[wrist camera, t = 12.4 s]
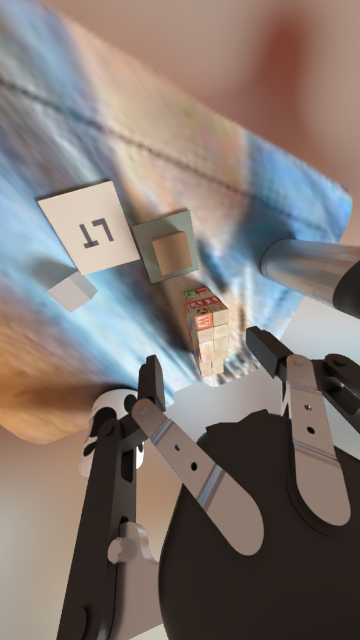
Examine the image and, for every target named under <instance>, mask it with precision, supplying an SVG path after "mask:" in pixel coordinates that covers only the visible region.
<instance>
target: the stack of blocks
mask: <svg viewBox="0 0 360 640" xmlns="http://www.w3.org/2000/svg"><path fill="white" fill-rule="evenodd" d="M183 296H184V305H185V311H186V317H187V323H188V327H189V332H190V338H191V346H192V351H193V355H194V358H195V361H196V364H197V367H198V369H199V371H200V374H201V377H202V378H204V377H207V376H211V375H214V374H218V373H221V372H223V358H225V357H228V322H229V309H228V308H227V307H226V306H225V305H224V304H223V303H222V301H221V300H220V299H219V298H218V297H217V296H215V295H214V294H213V293H212V292H211V290H210V289H209V288H208V287H204V288H199V289H195V290H191V291H187V292H183Z"/></svg>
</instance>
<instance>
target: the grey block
mask: <svg viewBox="0 0 360 640" xmlns="http://www.w3.org/2000/svg"><path fill="white" fill-rule="evenodd" d="M97 291H98V290H97V289H96V288H95V287H94V286H93V285H92V284H91V283H90V281H89V280H88V279H87V278H86V277H85V276H84V275H83V276H82V275H81V273H80V271H79V270H78V271H77V272H75V273H74V274H72V275H70V276H69V277H67V278H66V279H64V280H63V281H61V282H60V283H58V284H57V285H55V286H54V287H52V288H51V289H49V290H48V291H46V292H47V293H48V294H49V295H50V296H51V297H52V298H54V299H55V300H56V301H57V302H58V303H59V304H61V305H62V306H63V307H64V308H65V309H66V310H68V311H69V312H72V311H74V310H75V309H77V308H78V307H80V306H82V305H83V304H85V303H86V302H88V301H89V300H91V299H92V297H93V296H94V295H95V294H96V292H97Z"/></svg>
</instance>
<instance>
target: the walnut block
mask: <svg viewBox="0 0 360 640" xmlns="http://www.w3.org/2000/svg"><path fill="white" fill-rule="evenodd" d="M151 240H152V243H153V247H154V250H155V253H156V256H157V260H158V263H159V266H160V269H161V273H162V276H163V275H166V274H169V273H173V272H176V271H180V270H183V269H186V268H190V267H192V262H191V257H190V251H189V246H188V241H187V236H186V232H185V231H176V232H173V233H169V234H166V235H163V236H159V237H156V238H152V239H151Z"/></svg>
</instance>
